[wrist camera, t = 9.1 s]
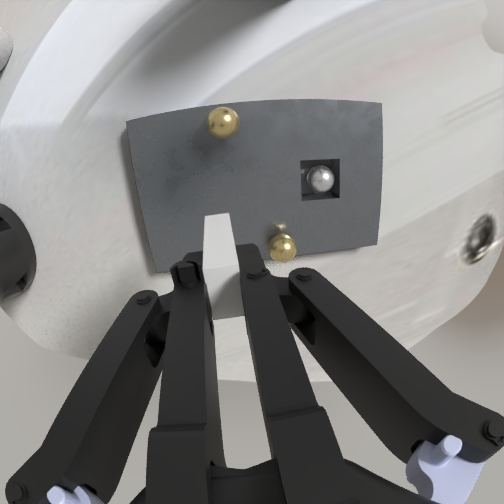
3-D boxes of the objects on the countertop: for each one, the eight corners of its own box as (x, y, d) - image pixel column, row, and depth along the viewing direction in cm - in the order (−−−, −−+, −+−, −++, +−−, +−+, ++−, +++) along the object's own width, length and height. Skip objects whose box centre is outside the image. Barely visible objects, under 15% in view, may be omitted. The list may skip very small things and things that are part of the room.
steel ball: (339, 194, 30) (326, 188, 33) (339, 167, 29) (326, 162, 32) (314, 197, 30) (302, 190, 33) (313, 168, 28) (301, 164, 31)
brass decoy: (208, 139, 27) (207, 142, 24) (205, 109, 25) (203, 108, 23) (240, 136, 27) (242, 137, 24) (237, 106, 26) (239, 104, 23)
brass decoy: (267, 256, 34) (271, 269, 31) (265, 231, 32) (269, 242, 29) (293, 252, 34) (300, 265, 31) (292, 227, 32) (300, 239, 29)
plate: (160, 262, 35) (156, 272, 33) (132, 120, 27) (125, 121, 25) (368, 237, 37) (376, 244, 35) (371, 103, 29) (381, 103, 26)
